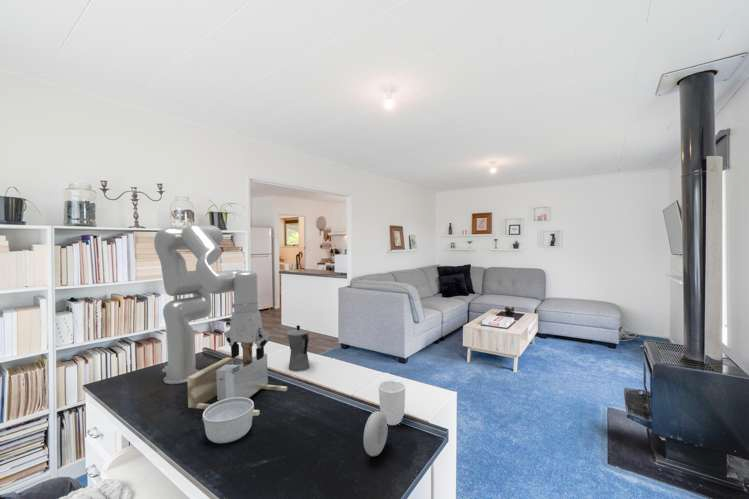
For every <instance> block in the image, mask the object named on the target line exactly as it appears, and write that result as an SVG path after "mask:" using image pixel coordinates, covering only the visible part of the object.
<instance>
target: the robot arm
mask: <svg viewBox="0 0 749 499" xmlns="http://www.w3.org/2000/svg"><path fill="white" fill-rule="evenodd" d="M153 240H154V241H153V242H154V244H153V245H154V249H155V250H154V251H155V252H156V255H157V257H158V259H159V262H160V266H161V274H162V281H163V287H164V291H165V294H166V295H168V296H170V297H179V296H186V295H192V296H191V297H184V298H178V299H177V298H176V299H174V300H171V301H168V302H167V303H166V304H165V305H164V307H162V308H163V309H162V314H163V318H164V323H165V329H166V330H165V331H166V344H167V345H166V348H167V365H165V366H164V368H162V370H161V372H162V373H165V374H166V375H165V376H164V377H163V382H164V384H168V385H179V384H184V383H188V381H187V377H189V376H191V375H193V374H195V373H197V372H199V371H200V370H199V369H197V367H196V363H197V362H196V339H195V338H196V336H195V335H196V334H195V330H194V328H193V327H192V326H191V324H189V322H192V321H197V320H201V319H206V318H207V317H209V315H210V314H212V313H211V312H212V298H211V294H212V295H220V294H226V293H232V292H233V303H232V305H231V308H233V309H234V310H233V311H232V313H231V315H230V321H229V322H230V325H229V329H228V330H226V331H225V332H224V333H223V334H224V337H225V339H226V342H227V343H228V346H229V347H230V354H231V358H233V359H235V358H237V357H239V356H240V345H239V343H240V344H241V343H254V344H255V346H256V348H255V356H256V359H257V360H260V359H261V358H263V357H264V354H265V346H266V344H268V342H269V340H270V338H271V334H270V333H269V332H268V331H266V330H264V329H263V322H262V315H261V313H260V310H259V302H258V301H259V297H258V296H259V295H258V275H257V272H255V271H253V270H252V271H251V270H249V271H248V270H241V269H232V270H220V271H219V270H218V271H214V270H213V269H212V267H211V265H212V264H215V263H216V261H218V260H219V259H220V258H221V255H222V252H223V251H222V248H221V247H220V245H221V244H222V243H223V241H224V235H223V231H222V230H221V229H220V228H219V227H218V226H216V225H211V224H190V225H187V226H185V227H164V228H162V229H159V230H158V231H157V232H156V234H155V236H154V239H153ZM179 250H190V251H191V253H192V255H194V257H195V258H196V259H197V260H196V263H195V270H188V269H187V268H188V267H187V263H186V259H185V258H184V256H183V255H182V254H181V253H180V252H179Z"/></svg>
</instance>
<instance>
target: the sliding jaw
mask: <svg viewBox="0 0 749 499" xmlns="http://www.w3.org/2000/svg"><path fill="white" fill-rule="evenodd" d="M254 344H255V343H240V346H241V348H242V363H240V364H237V365H238V366H237V367H235V368H233V369H231V370H230V371H228V372H226V373H225V380H226V399H228V398H234V397H244V398H249V399H250V398H251V397H252V396H253V395H255V394H256V393H257V392H258V391H260V390H262V389H261V388H262V387H264V386H265V385H266V384H267V385H269V374H268V353H264V357H263V358H261V359H260V360H257V359H256V355H254V356H253V346H254Z"/></svg>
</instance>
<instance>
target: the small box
mask: <svg viewBox="0 0 749 499" xmlns="http://www.w3.org/2000/svg"><path fill="white" fill-rule="evenodd" d="M238 365H239V364H234V365H224V366H222V367H221V368H219V369H218V370H217V371H216V376H217V395H216V396H217V398H216V399H217V402H218V401H221V400H224V399H226V380H225V373H226V372H228V371H230V370H231V369H233V368H235V367H237V366H238Z"/></svg>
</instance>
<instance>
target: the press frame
mask: <svg viewBox="0 0 749 499" xmlns="http://www.w3.org/2000/svg"><path fill="white" fill-rule="evenodd" d="M224 365H235V364H234V358H232V357H225V358H222V359H221V360H219V361H216V362H214V363H213V364H211V365H209V366H206V367H205V368H202V369H201V370H199V372H197V373H195V374H193V375H191V376H189V377H187V381H188V382H187V402H188V403H187V404H188V408H190V409H199V410H205V409H206V408H208V407H209V406H210V405H212V404H213V403H212V404H211V403H207V402H209V401H210V400H212V399H213V398H215V397H216V396H217V376H216V371H217V370H218V369H219V368H221V367H222V366H224ZM260 390H268V391H269V390H271V391H278V392H279V391H280V392H286V391H287V390H288V386H284V385H274V384H266V385H265V386H264V387H262V388H261V389H260ZM260 412H261V411H260V409H254V410H253V417H256V416H257V417H258V416H259V415H260Z"/></svg>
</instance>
